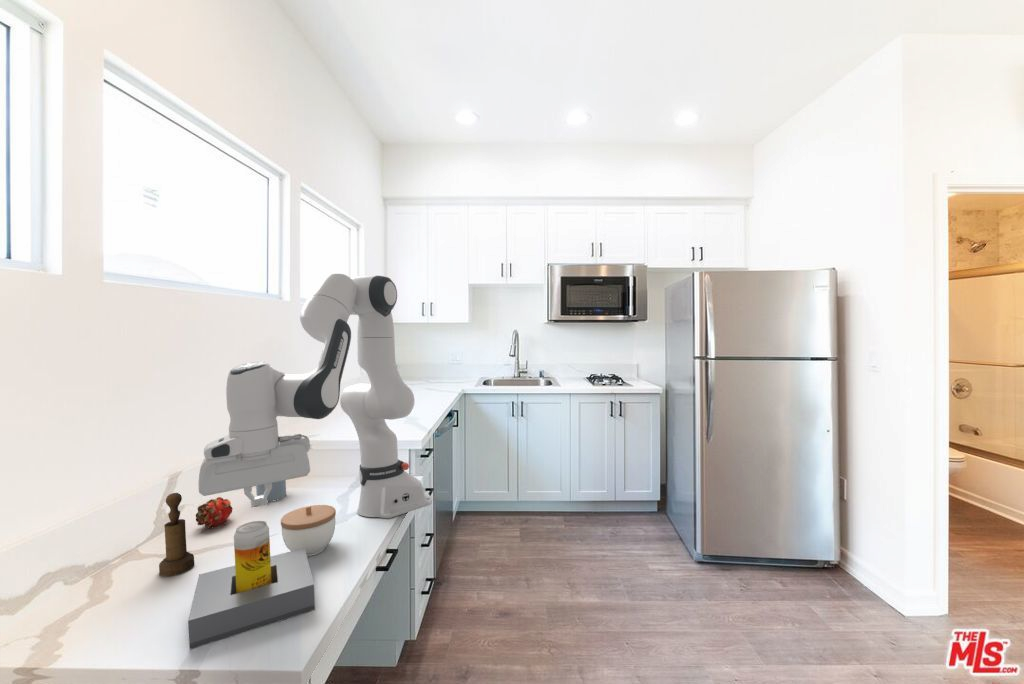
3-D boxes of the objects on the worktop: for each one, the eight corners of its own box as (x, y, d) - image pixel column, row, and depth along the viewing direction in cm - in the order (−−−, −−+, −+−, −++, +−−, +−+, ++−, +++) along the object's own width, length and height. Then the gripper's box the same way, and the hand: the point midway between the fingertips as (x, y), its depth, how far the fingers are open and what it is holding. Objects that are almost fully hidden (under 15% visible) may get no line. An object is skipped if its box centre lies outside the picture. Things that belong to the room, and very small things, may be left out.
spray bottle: (251, 499, 151) (248, 425, 150) (278, 491, 158) (275, 421, 158) (264, 504, 145) (261, 428, 145) (291, 495, 153) (288, 423, 152)
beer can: (257, 611, 85) (253, 533, 85) (229, 608, 86) (225, 532, 86) (278, 592, 91) (275, 520, 91) (252, 591, 92) (249, 519, 92)
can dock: (305, 569, 102) (304, 548, 102) (315, 609, 87) (313, 584, 87) (200, 598, 92) (199, 574, 92) (189, 649, 77) (187, 620, 77)
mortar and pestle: (156, 579, 100) (152, 500, 100) (162, 567, 106) (159, 492, 106) (191, 571, 104) (188, 494, 103) (196, 559, 109) (193, 486, 109)
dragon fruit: (199, 540, 123) (223, 528, 135) (225, 520, 125) (247, 509, 137) (181, 516, 124) (207, 506, 136) (207, 496, 125) (231, 487, 137)
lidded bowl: (284, 545, 115) (282, 502, 115) (336, 534, 120) (334, 494, 120) (280, 567, 104) (277, 520, 104) (338, 555, 109) (335, 510, 109)
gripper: (307, 429, 101) (311, 489, 102) (197, 446, 91) (202, 512, 91) (310, 434, 96) (314, 498, 96) (194, 453, 85) (200, 523, 86)
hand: (259, 505), depth 94 cm, fingers closed
